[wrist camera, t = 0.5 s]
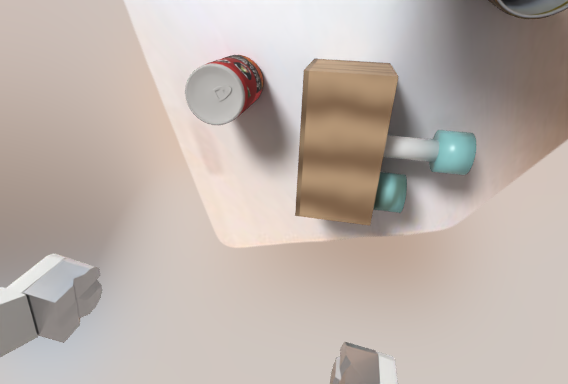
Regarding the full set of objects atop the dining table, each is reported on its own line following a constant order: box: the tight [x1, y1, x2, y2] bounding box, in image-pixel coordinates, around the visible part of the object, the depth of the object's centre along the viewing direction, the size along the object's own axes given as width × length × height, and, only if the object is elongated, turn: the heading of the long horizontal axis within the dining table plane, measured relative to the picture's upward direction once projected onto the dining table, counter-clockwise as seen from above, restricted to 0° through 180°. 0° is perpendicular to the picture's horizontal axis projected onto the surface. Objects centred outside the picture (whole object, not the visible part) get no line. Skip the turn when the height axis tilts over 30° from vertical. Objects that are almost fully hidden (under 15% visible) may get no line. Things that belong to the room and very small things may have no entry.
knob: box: [383, 130, 476, 175], centre depth 46 cm, size 6×14×6 cm, turn 88°
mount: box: [295, 59, 407, 225], centre depth 47 cm, size 20×15×11 cm
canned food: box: [185, 55, 263, 125], centre depth 47 cm, size 8×8×11 cm
